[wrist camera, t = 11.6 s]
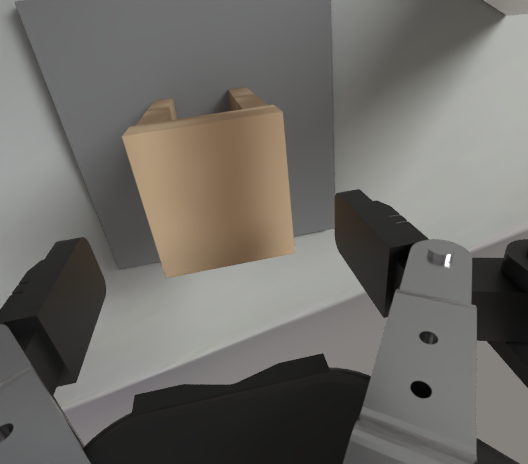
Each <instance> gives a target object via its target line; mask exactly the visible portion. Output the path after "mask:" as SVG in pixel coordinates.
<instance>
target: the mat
mask: <svg viewBox="0 0 528 464" xmlns="http://www.w3.org/2000/svg"><path fill="white" fill-rule="evenodd" d="M15 5H16V7H17V10H18V13H19V15H20V18H21V20H22V23H23V25H24V28H25V30H26V33H27V36H28V38H29V41H30V43H31V46H32V48H33V51H34V54H35V56H36V59H37V61H38V64H39V66H40V69H41V71H42V74H43V77H44V79H45V82H46V84H47V87H48V89H49V92H50V95H51V97H52V100H53V102H54V105H55V107H56V110H57V112H58V115H59V118H60V120H61V123H62V125H63V128H64V130H65V133H66V136H67V138H68V141H69V143H70V146H71V148H72V151H73V153H74V156H75V159H76V161H77V164H78V166H79V169H80V171H81V174H82V177H83V179H84V182H85V184H86V187H87V189H88V192H89V194H90V197H91V200H92V202H93V205H94V207H95V210H96V212H97V215H98V218H99V220H100V223H101V225H102V228H103V230H104V233H105V235H106V238H107V241H108V243H109V246H110V248H111V251H112V253H113V256H114V259H115V261H116V264H117V266H118V269H119V270H120V269H125V268H130V267H136V266H141V265H146V264H151V263H156V262H161V260H160V257H159V254H158V251H157V248H156V244H155V241H154V238H153V235H152V232H151V228H150V225H149V222H148V219H147V216H146V212H145V209H144V206H143V203H142V200H141V196H140V193H139V190H138V187H137V184H136V180H135V177H134V174H133V171H132V168H131V164H130V161H129V158H128V155H127V152H126V148H125V145H124V142H123V139H122V136H123V134H124V133H125V132H126V131H127V129H128V128H129V127H130V126H136V124H137V123H138V122H139V120H140V119H141V118H142V116H143V115H144V114H145V112H146V111H147V110H148V108H149V107H150V106H151V104H152V103H153V102H154V100H160V99H166V98H173V99H174V103H175V108H176V112H177V116H178V119H182V118H189V117H196V116H202V115H209V114H215V113H222V112H228V111H231V106H230V100H229V93H228V89H235V88H242V87H247V88H248V89H249V90H250V91H252V92H253V93H254V94H255V95H256V96H258V97H259V98H260V99H261V100H263V101H264V102H265V103H266V104H268V105H275V106H276V107H277V108H279V109H280V110H281V111H283V121H284V132H285V144H286V155H287V167H288V179H289V190H290V202H291V213H292V225H293V236H297V235H303V234H308V233H313V232H318V231H323V230H329V229H334V228H335V181H334V132H333V83H332V35H331V0H25V1H17V2H15Z"/></svg>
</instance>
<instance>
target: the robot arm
mask: <svg viewBox="0 0 528 464" xmlns="http://www.w3.org/2000/svg"><path fill="white" fill-rule="evenodd" d="M335 241H336V245H337V248H338V250H339V252H340V254H341V255H342V257H343V258H344V260H345V261H346V263H347V264H348V266H349V267H350V269H351V270H352V272H353V273H354V275H355V276H356V278H357V279H358V281H359V282H360V283H361V285H362V286H363V288H364V289H365V291H366V292H367V294H368V295H369V297H370V298H371V300H372V301H373V303H374V304H375V306H376V307H377V309H378V310H379V312H380V313H381V314H382V316H383V317H384V318H385V317H388V319H387V322H386V326H385V330H384V333H383V337H382V340H381V343H380V347H379V351H378V354H377V358H376V361H375V364H374V368H373V371H372V375H371V376H369V375H366V374H363V373H360V372H357V371H352V370H348V369H341V368H329V367H328V365H327V362H326V360H325V357H324V355H323V354H318V355H314V356H309V357H305V358H300V359H296V360H291V361H287V362H282V363H278V364H276V365H274V366H272V367H270V368H268V369H265V370H263V371H261V372H259V373H257V374H255V375H253V376H251V377H248V378H246V379H244V380H242V381H240V382H238V383H235V384H231V385H190V384H184V385H178V386H174V387H169V388H165V389H160V390H156V391H151V392H147V393H142V394H137V395H135V397H134V403H133V409H132V413H130V414H128V415H126V416H124V417H122V418H121V419H119V420H117V421H116V422H114V423H112V424H111V425H110V426H108V427H107V428H105V429H104V430H103V431H101V432H100V433H99V434H98V435H96V436H95V437H94V438H93V439H92V440H91V441H90V442H89V443H88V444H87V445H86V446H85V445H84V444H83V442H82V441H81V439H80V438H79V436H78V434H77V433H76V431H75V430H74V428H73V426H72V425H71V423H70V422H69V420H68V418H67V417H66V415H65V413H64V412H63V410H62V409H61V407H60V405H59V404H58V402H57V401H56V399H55V398H54V396H53V395H54V392H55V390H56V387H58V386H63V385H68V384H72V383H76V381H77V378H78V376H79V373H80V370H81V367H82V364H83V361H84V358H85V355H86V352H87V349H88V346H89V343H90V340H91V337H92V334H93V331H94V328H95V325H96V323H97V320H98V317H99V314H100V311H101V308H102V305H103V302H104V299H105V295H106V285H105V280H104V277H103V275H102V272H101V270H100V268H99V265H98V263H97V261H96V258H95V256H94V254H93V251H92V249H91V246H90V244H89V242H88V241H87V239H85V238H84V237H81V238H75V239H70V240H64V241H58V242H56V243H55V245H54V246H53V248H52V249H51V250H50V252H49V253H48V255H47V256H46V258H45V259H44V260H41V261H40V262H39V263H38V264H36V265H35V266H34V267H32V268H31V269H30V270H29V271H27V273H26V274H25V275H24V277H23V278H22V280H21V281H20V283H19V285H18V286H17V287H16V288H15V290H14V291H13V292H12V295H11V296H10V297H9V298H8V300H7V301H6V302H5V304H4V305H3V307H2V308H1V309H0V464H519V463H518V462H516V461H514V460H513V459H511V458H509V457H508V456H506V455H504V454H503V453H501V452H499V451H497V450H496V449H494V448H492V447H491V446H489V445H488V444H486V443H484V442H482V441H481V440H479V439H477V438H476V417H477V414H476V413H477V408H476V407H477V394H476V393H477V385H476V384H477V340H479V341H487V342H488V343H489V344H490V345H491V346H492V347H493V349H494V350H495V351H496V352H497V353H498V354H499V355H500V357H501V358H502V359H503V360H504V361H505V362H506V363H507V365H508V366H509V367H510V368H511V369H512V370H513V372H514V373H515V374H516V375H517V376H518V377H519V378H520V379H521V380H522V382H523V383H524V384H525V385H526V386H527V387H528V239H527V240H526V239H524V240H517V241H514V242H511V243H510V244H509V245H508V246H507V248H506V251H505V255H504V258H472V256H471V254H470V253H469V251H468V250H466V249H465V248H464V247H462V246H460V245H458V244H456V243H453V242H450V241H445V240H438V239H430V240H429V239H428V238H427V237H426V236H425V235H423V234H422V233H421V232H420V231H419V230H418V229H416V228H415V227H414V226H413V225H412V224H411V223H409V222H407V220H406V219H405V218H404V217H402V216H401V215H399V213H398V212H397V211H395V210H394V209H393V208H392V207H391V206H389V205H386V204H384V203H381V202H379V201H372V200H371V199H370V198H368V197H367V196H366V195H365V194H364V193H363V192H362V191H361V190H359V189H357V190H352V191H346V192H340V193H337V194H336V195H335Z"/></svg>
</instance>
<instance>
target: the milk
mask: <svg viewBox="0 0 528 464" xmlns="http://www.w3.org/2000/svg"><path fill="white" fill-rule="evenodd" d="M483 1H485V2H486V3H488V4H489V5H491V6H493V7H494V8H496V9H497V10H499V11H500V12H502V13H504V14H505V15H507V16H510V15H521V14H528V0H483Z"/></svg>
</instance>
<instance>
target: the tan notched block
mask: <svg viewBox="0 0 528 464" xmlns="http://www.w3.org/2000/svg"><path fill="white" fill-rule="evenodd" d="M228 93H229V100H230V106H231V111H228V112H222V113H215V114H209V115H202V116H196V117H189V118H182V119H178V116H177V112H176V108H175V103H174V99H173V98H166V99H160V100H154V102H153V103H152V104H151V106H150V107H149V108H148V110H147V111H146V112H145V114H144V115H143V116H142V118H141V119H140V120H139V122H138V123H137V124H136V126H130V127H129V128H128V129H127V131H126V132H125V133H124V134H123V136H122V139H123V142H124V145H125V148H126V152H127V155H128V158H129V161H130V164H131V168H132V171H133V174H134V177H135V180H136V184H137V187H138V190H139V193H140V196H141V200H142V203H143V206H144V209H145V212H146V216H147V219H148V222H149V225H150V228H151V232H152V235H153V238H154V241H155V244H156V248H157V251H158V254H159V257H160V260H161V264H162V267H163V270H164V273H165V276H166V278H169V277H175V276H180V275H185V274H190V273H195V272H200V271H205V270H210V269H216V268H221V267H226V266H231V265H236V264H241V263H246V262H252V261H257V260H262V259H267V258H272V257H277V256H282V255H287V254H293V253H295V248H294V236H293V225H292V213H291V202H290V190H289V179H288V167H287V155H286V144H285V132H284V121H283V111H281V110H280V109H279V108H277V107H276V106H275V105H268V104H266V103H265V102H264V101H263V100H261V99H260V98H259V97H258V96H256V95H255V94H254V93H253V92H252V91H250V90H249V89H248V88H247V87H242V88H235V89H228Z"/></svg>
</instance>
